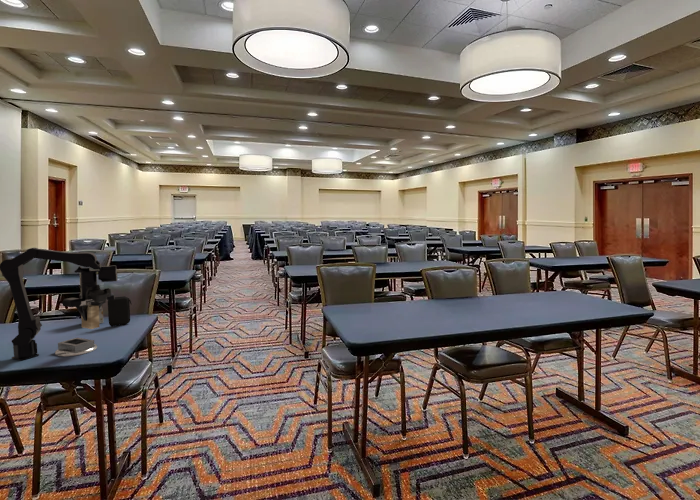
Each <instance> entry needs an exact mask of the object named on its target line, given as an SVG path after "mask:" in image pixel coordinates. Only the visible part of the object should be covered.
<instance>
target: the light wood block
mask: <svg viewBox="0 0 700 500" xmlns="http://www.w3.org/2000/svg"><path fill="white" fill-rule="evenodd" d="M80 316H81V315H80ZM100 326H101V325H100V324H99V306H96V305H89V306H88V307H87V321H85V320H84V319H83V317H82V316H81V328H83V329H89V330H93V329H97V328H100Z"/></svg>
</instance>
